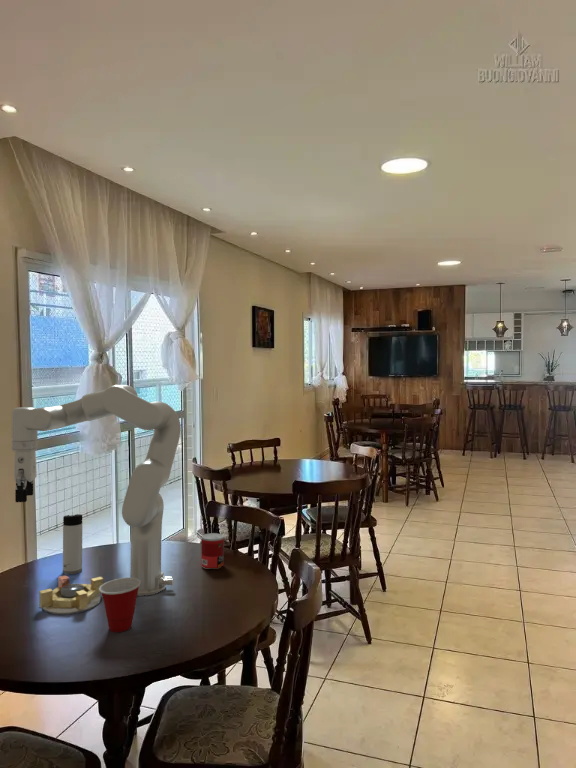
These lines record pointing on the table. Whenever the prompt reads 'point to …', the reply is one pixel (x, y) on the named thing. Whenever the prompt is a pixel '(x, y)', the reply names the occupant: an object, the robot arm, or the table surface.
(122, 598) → the plastic cup
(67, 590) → the flange
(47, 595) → the locking ring
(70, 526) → the travel mug
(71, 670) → the table surface
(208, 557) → the canned food
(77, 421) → the robot arm
